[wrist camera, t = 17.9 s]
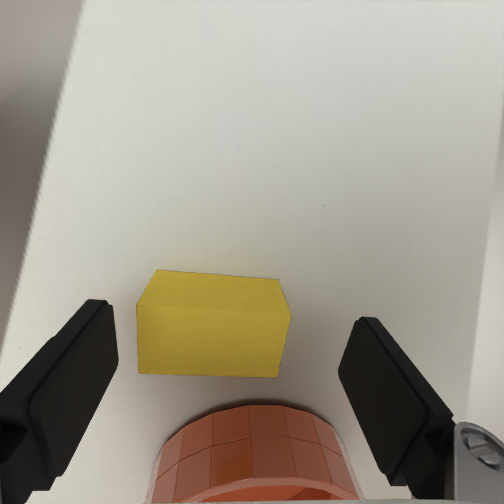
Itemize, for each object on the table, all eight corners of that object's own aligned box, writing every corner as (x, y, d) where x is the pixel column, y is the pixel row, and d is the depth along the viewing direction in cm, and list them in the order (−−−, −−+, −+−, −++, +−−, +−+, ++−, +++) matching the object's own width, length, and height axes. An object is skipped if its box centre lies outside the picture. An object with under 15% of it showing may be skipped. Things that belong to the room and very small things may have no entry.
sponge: (156, 269, 14) (135, 305, 11) (278, 279, 15) (291, 315, 12) (156, 327, 16) (137, 373, 13) (267, 333, 17) (277, 378, 14)
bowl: (362, 398, 20) (402, 473, 15) (318, 508, 26) (337, 587, 21) (154, 396, 18) (129, 482, 13) (157, 516, 24) (140, 605, 19)
